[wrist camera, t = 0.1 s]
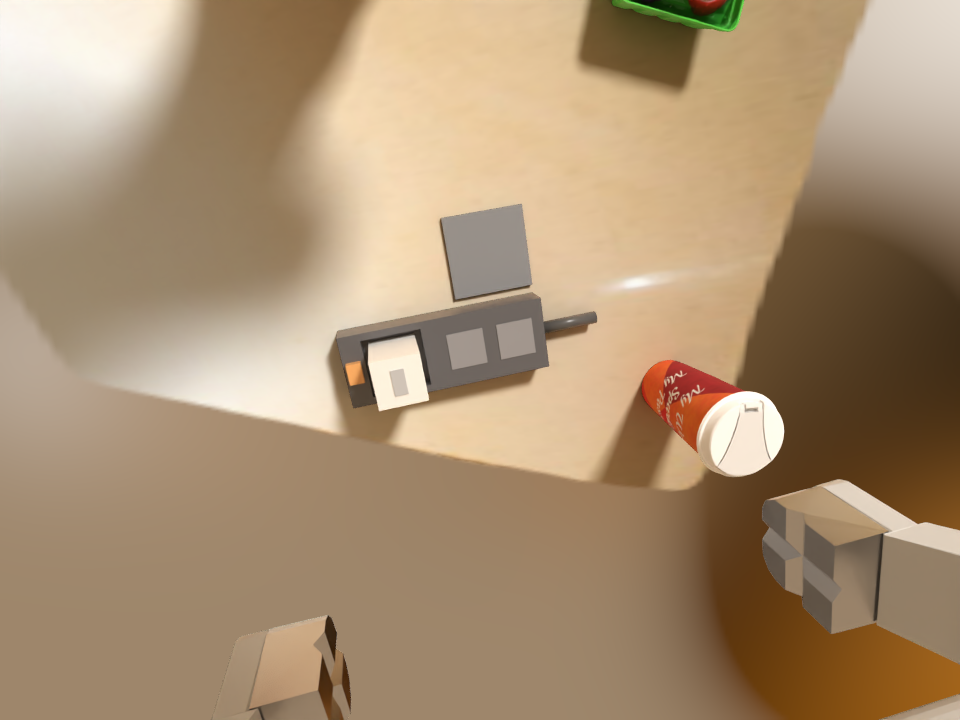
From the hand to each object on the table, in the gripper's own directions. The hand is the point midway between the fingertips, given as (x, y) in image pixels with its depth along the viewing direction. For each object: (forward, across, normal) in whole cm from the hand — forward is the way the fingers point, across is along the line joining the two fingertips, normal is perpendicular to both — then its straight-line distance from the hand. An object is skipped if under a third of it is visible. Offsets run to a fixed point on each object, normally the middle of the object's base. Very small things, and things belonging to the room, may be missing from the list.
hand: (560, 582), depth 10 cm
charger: (+46, +3, +9) cm, 47 cm away
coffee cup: (+48, -26, +19) cm, 58 cm away
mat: (+48, -8, +1) cm, 49 cm away
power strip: (+48, -5, +9) cm, 49 cm away
